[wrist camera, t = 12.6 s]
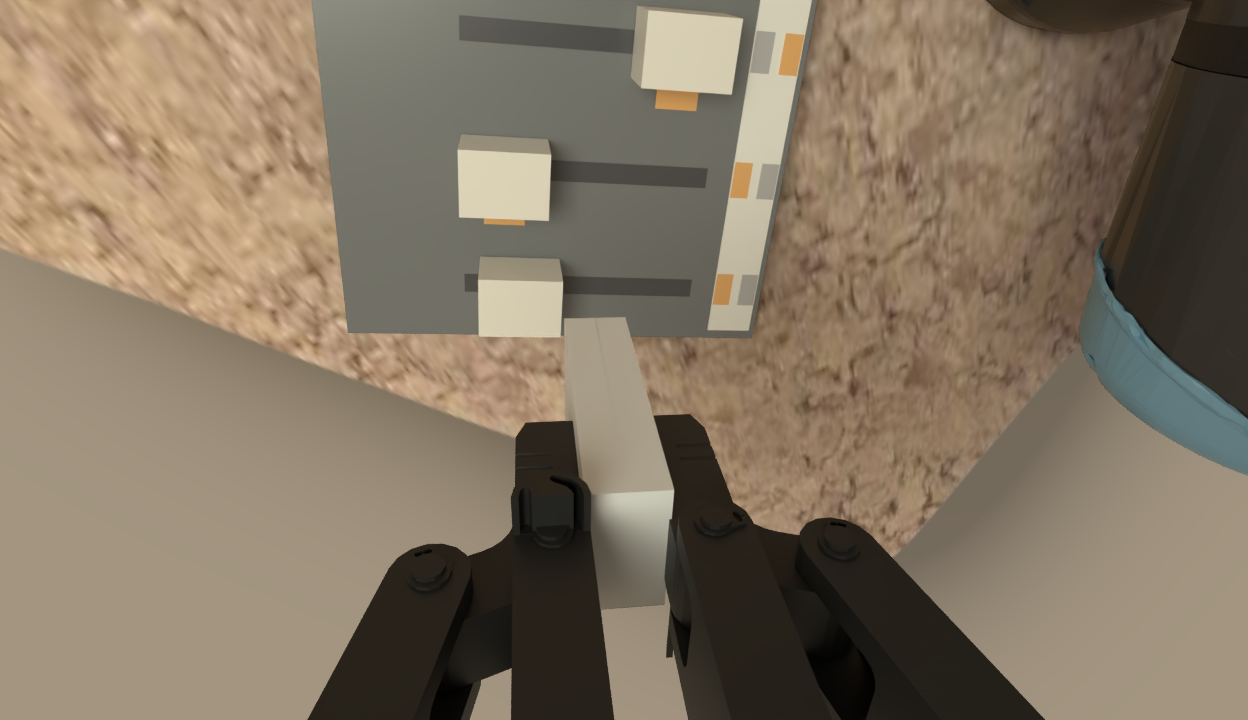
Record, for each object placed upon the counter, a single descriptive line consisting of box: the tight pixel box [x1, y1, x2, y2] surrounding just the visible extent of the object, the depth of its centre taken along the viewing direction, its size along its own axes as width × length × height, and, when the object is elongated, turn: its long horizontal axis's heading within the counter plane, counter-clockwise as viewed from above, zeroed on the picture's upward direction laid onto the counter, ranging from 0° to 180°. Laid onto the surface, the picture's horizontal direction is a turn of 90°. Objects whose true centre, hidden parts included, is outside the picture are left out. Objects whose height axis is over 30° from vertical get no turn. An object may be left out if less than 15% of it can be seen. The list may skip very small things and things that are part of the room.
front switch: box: [631, 5, 743, 95], centre depth 31 cm, size 4×3×3 cm
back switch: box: [478, 256, 563, 337], centre depth 36 cm, size 4×3×3 cm
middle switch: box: [458, 134, 551, 221], centre depth 33 cm, size 4×3×3 cm
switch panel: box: [311, 0, 818, 338], centre depth 36 cm, size 22×18×3 cm
